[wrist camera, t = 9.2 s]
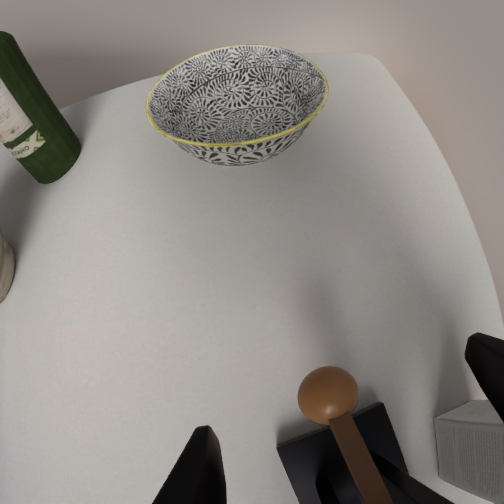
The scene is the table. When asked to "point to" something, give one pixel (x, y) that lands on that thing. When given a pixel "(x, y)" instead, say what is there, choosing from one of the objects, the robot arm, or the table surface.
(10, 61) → the wine bottle
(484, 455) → the cosmetic box
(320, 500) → the bracket
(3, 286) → the teapot
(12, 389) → the table surface
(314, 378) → the lever
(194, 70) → the bowl
